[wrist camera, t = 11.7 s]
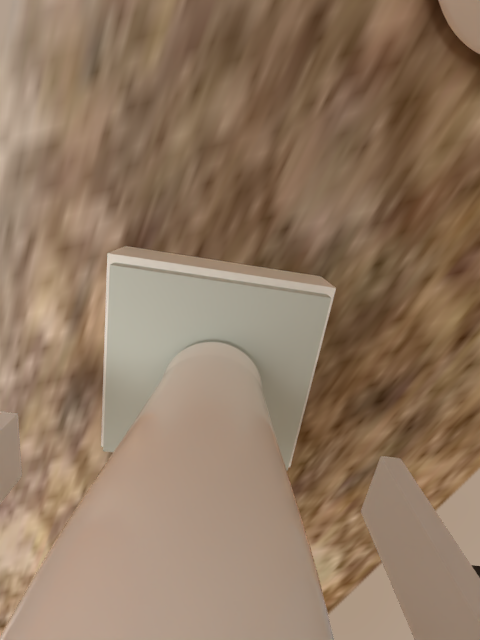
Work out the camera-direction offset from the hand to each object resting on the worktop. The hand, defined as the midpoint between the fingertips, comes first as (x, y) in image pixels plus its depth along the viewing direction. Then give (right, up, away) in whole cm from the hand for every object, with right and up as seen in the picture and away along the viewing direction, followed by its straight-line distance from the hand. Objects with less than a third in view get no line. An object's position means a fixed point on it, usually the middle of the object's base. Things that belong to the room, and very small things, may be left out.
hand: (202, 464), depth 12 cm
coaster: (0, +3, +10) cm, 11 cm away
